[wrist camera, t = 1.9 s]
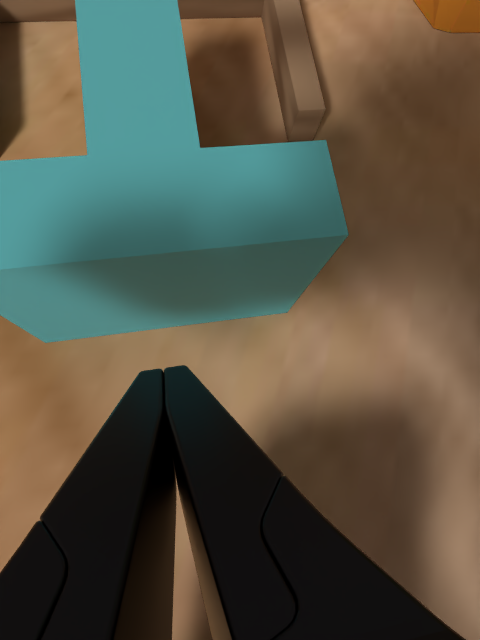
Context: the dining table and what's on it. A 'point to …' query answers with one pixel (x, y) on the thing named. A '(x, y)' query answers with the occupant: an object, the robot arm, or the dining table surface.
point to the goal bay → (269, 3)
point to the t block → (157, 201)
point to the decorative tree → (452, 14)
